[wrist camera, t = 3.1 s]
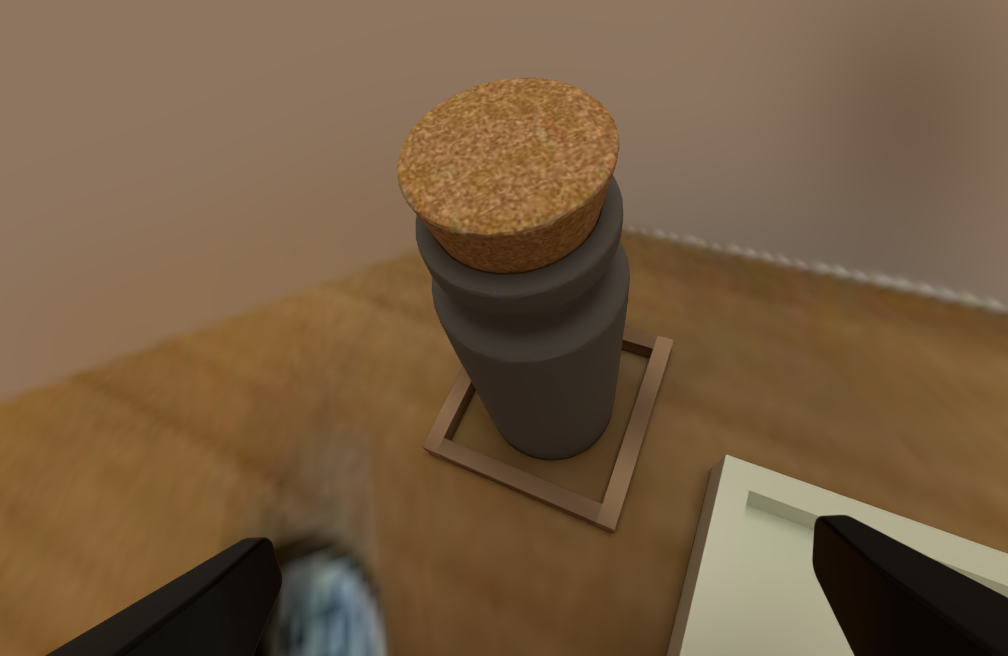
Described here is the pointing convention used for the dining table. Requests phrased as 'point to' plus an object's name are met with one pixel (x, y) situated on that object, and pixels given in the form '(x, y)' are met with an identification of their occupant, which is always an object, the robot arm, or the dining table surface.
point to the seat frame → (540, 488)
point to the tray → (786, 565)
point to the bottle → (525, 253)
